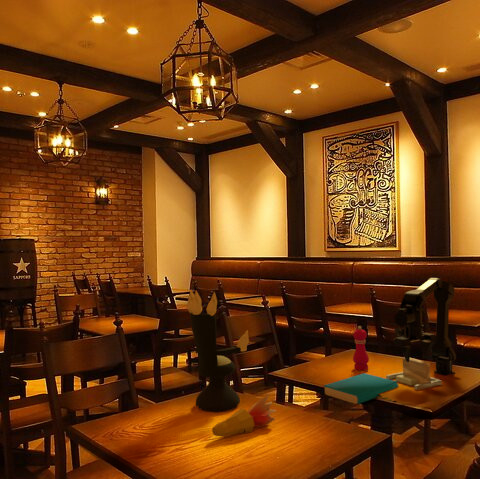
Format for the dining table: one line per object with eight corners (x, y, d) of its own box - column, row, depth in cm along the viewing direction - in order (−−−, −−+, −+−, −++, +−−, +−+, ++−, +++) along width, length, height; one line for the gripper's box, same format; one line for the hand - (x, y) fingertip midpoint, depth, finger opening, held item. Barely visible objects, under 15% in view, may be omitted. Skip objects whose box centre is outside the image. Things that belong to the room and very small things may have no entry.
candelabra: (252, 402, 186) (248, 285, 186) (218, 421, 167) (214, 291, 167) (213, 394, 196) (209, 284, 196) (177, 412, 177) (172, 289, 177)
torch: (214, 451, 152) (272, 420, 168) (226, 447, 146) (285, 415, 162) (204, 426, 155) (262, 397, 170) (215, 420, 149) (274, 392, 164)
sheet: (408, 380, 206) (407, 356, 206) (430, 387, 195) (429, 363, 195) (403, 381, 205) (402, 357, 205) (425, 389, 194) (424, 364, 194)
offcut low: (402, 383, 203) (402, 378, 203) (420, 390, 194) (420, 385, 194) (394, 385, 202) (394, 380, 202) (412, 391, 193) (412, 386, 193)
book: (323, 385, 192) (363, 372, 207) (324, 396, 192) (364, 382, 207) (358, 395, 179) (398, 380, 194) (358, 407, 179) (398, 391, 194)
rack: (409, 377, 210) (409, 370, 210) (441, 387, 194) (441, 380, 194) (386, 382, 204) (386, 375, 204) (417, 393, 189) (416, 385, 189)
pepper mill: (371, 367, 228) (369, 325, 228) (366, 371, 222) (364, 327, 222) (356, 365, 232) (354, 324, 232) (351, 369, 226) (349, 326, 226)
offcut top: (402, 379, 203) (401, 374, 203) (417, 383, 196) (417, 378, 196) (396, 380, 201) (396, 375, 201) (411, 385, 194) (411, 380, 194)
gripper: (416, 317, 212) (418, 353, 212) (383, 322, 204) (384, 359, 204) (436, 321, 201) (438, 358, 202) (402, 326, 194) (404, 365, 194)
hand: (416, 360), depth 200 cm, fingers open, 9 cm apart
